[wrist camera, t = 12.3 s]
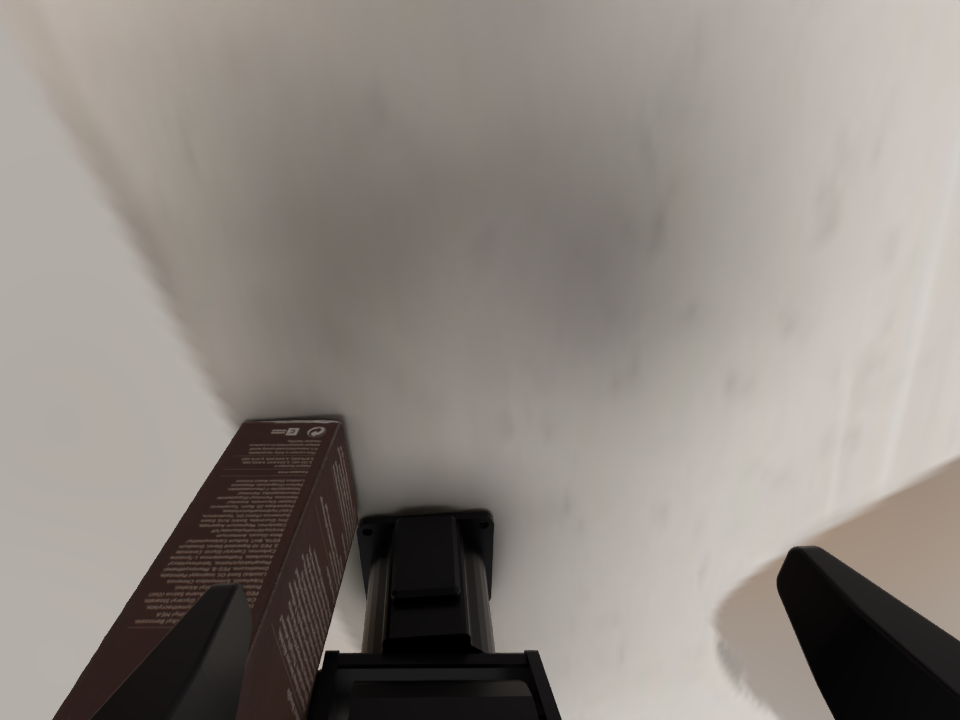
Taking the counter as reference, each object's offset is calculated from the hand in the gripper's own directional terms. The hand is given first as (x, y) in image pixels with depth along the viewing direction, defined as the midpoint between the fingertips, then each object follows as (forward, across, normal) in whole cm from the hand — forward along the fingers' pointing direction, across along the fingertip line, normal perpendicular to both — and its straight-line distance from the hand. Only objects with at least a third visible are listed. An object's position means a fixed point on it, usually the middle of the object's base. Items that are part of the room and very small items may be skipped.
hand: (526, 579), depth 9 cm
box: (+13, +7, +9) cm, 17 cm away
